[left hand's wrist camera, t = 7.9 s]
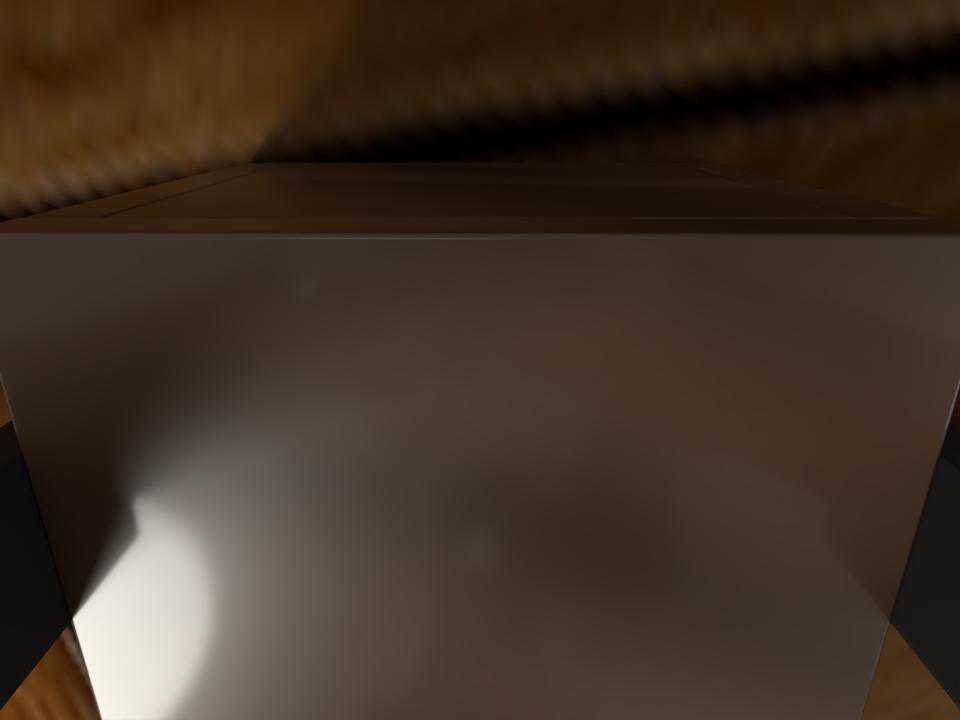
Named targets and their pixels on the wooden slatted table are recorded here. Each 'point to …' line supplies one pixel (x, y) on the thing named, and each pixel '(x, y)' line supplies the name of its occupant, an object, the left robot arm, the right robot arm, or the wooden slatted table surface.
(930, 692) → the wooden slatted table surface
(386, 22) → the wooden slatted table surface
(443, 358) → the cabinet
